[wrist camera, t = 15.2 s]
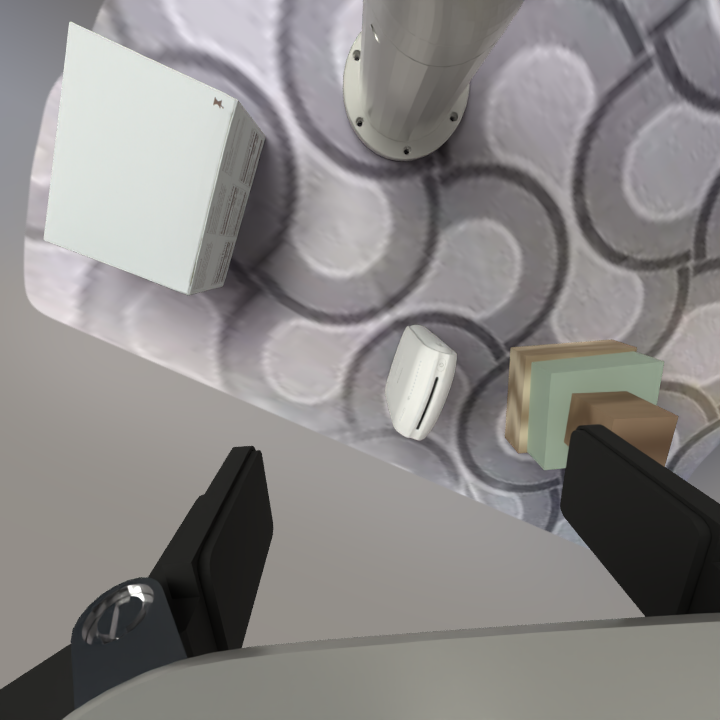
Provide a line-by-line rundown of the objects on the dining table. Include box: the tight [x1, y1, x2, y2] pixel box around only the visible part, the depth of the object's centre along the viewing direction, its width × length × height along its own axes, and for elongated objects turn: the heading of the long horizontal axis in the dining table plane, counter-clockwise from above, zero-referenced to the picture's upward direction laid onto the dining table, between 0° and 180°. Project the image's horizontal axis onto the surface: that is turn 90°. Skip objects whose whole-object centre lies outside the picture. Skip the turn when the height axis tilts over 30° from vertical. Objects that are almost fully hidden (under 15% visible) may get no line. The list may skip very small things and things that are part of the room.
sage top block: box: [527, 351, 664, 470], centre depth 39 cm, size 12×12×4 cm
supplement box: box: [44, 22, 265, 295], centre depth 32 cm, size 17×13×9 cm
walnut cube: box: [564, 391, 678, 467], centre depth 34 cm, size 6×6×6 cm
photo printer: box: [385, 325, 457, 440], centre depth 37 cm, size 10×4×12 cm, turn 164°
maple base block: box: [505, 340, 637, 453], centre depth 43 cm, size 13×13×4 cm
